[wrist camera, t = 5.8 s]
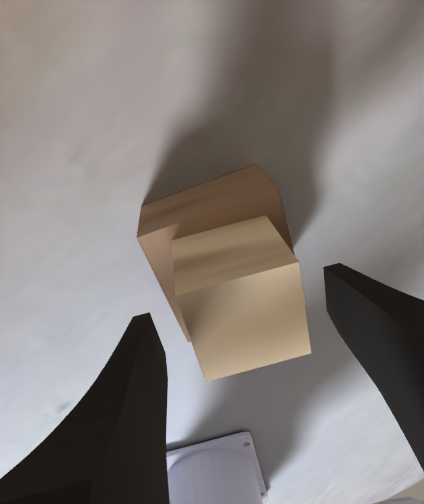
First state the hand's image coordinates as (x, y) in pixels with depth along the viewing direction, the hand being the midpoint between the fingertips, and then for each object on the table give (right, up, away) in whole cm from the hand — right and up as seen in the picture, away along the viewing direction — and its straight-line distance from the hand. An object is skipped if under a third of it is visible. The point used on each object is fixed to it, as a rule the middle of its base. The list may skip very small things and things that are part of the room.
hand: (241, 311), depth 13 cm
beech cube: (0, +1, +2) cm, 3 cm away
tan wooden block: (-1, +3, +6) cm, 7 cm away
